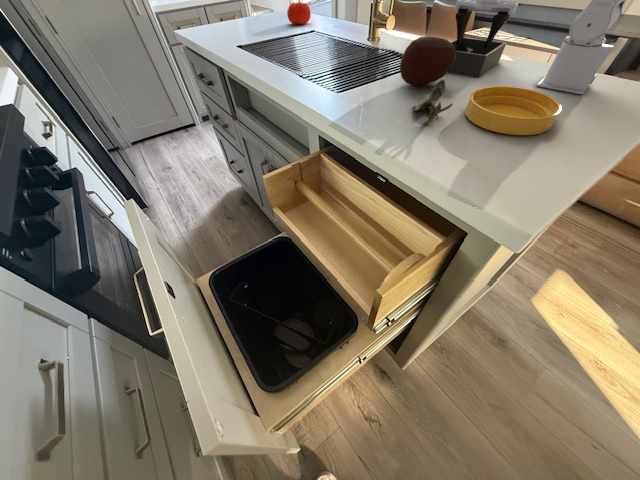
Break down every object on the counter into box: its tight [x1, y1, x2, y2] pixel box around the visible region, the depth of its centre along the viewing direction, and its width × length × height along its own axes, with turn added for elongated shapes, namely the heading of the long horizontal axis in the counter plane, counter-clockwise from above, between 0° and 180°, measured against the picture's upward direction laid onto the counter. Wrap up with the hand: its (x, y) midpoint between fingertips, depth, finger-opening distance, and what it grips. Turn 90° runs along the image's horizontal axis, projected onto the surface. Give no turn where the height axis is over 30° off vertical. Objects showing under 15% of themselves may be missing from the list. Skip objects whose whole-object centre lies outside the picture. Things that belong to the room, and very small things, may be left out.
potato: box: [399, 35, 456, 87], centre depth 66 cm, size 11×13×10 cm
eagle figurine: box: [411, 79, 454, 126], centre depth 55 cm, size 8×7×9 cm
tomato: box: [286, 1, 311, 25], centre depth 125 cm, size 11×11×8 cm
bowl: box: [464, 85, 563, 136], centre depth 54 cm, size 16×16×4 cm
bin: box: [447, 36, 507, 79], centre depth 76 cm, size 13×15×5 cm
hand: (472, 45), depth 75 cm, fingers open, 7 cm apart
